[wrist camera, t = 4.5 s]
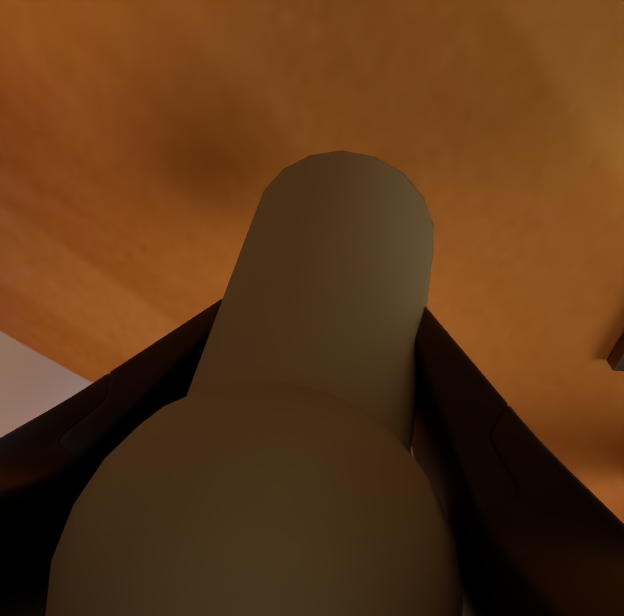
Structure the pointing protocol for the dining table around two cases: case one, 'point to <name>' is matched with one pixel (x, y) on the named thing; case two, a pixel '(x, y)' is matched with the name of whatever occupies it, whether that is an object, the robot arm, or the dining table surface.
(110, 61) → the dining table surface
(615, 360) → the walnut ruler
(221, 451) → the olive pepper mill
